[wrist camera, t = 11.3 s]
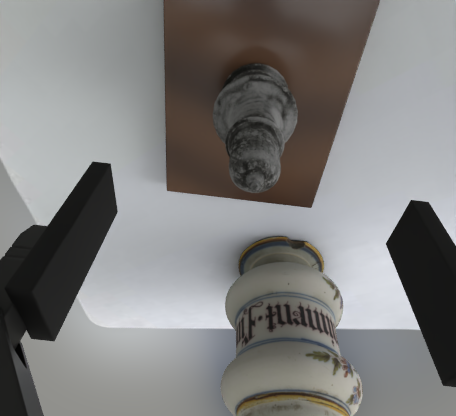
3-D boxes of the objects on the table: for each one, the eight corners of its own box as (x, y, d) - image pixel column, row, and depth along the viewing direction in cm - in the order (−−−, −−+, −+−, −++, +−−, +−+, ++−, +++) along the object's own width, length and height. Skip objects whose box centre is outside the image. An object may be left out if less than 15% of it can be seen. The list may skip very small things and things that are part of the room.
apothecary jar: (348, 237, 36) (407, 427, 22) (314, 303, 44) (341, 476, 30) (237, 220, 36) (225, 403, 22) (222, 290, 43) (206, 459, 29)
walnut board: (166, -83, 21) (161, -84, 20) (391, -54, 21) (398, -53, 20) (169, 183, 33) (166, 190, 32) (309, 200, 34) (311, 208, 33)
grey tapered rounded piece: (262, 40, 24) (267, 110, 14) (308, 104, 26) (337, 198, 17) (201, 93, 26) (171, 181, 17) (248, 146, 29) (245, 247, 20)
